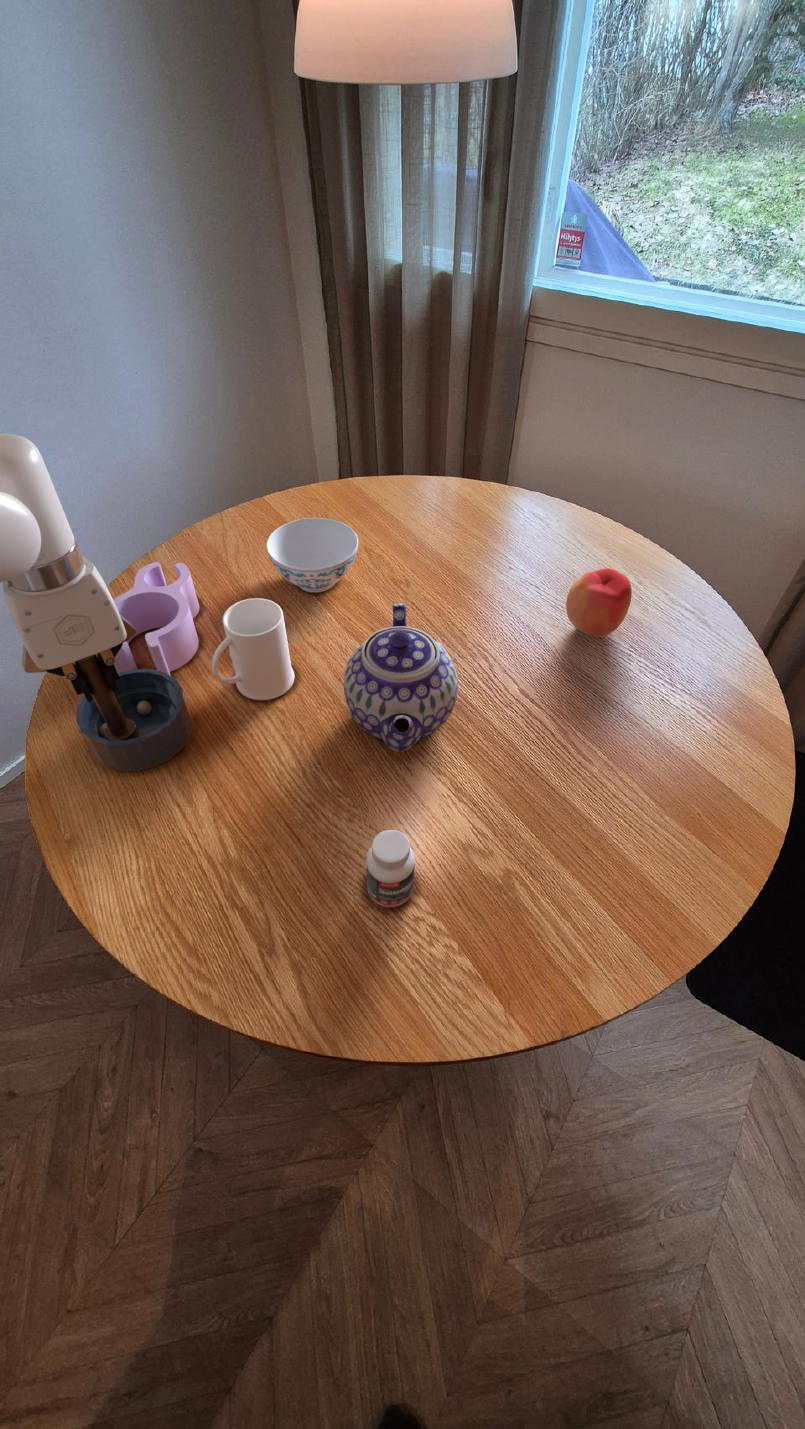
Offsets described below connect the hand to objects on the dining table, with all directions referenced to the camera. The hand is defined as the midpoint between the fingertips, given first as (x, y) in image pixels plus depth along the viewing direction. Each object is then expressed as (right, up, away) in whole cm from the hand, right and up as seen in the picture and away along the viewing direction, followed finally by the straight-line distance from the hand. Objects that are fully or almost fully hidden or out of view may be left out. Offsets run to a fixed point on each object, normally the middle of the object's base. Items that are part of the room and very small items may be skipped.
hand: (99, 688), depth 81 cm
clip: (-1, +9, +23) cm, 25 cm away
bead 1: (-2, -5, +7) cm, 9 cm away
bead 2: (+1, -2, +10) cm, 11 cm away
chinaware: (+22, +20, +33) cm, 45 cm away
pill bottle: (+36, -23, -6) cm, 43 cm away
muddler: (0, -6, +6) cm, 9 cm away
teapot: (+37, -3, +12) cm, 39 cm away
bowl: (+2, -6, +9) cm, 11 cm away
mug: (+16, +1, +16) cm, 22 cm away
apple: (+68, +10, +25) cm, 73 cm away
